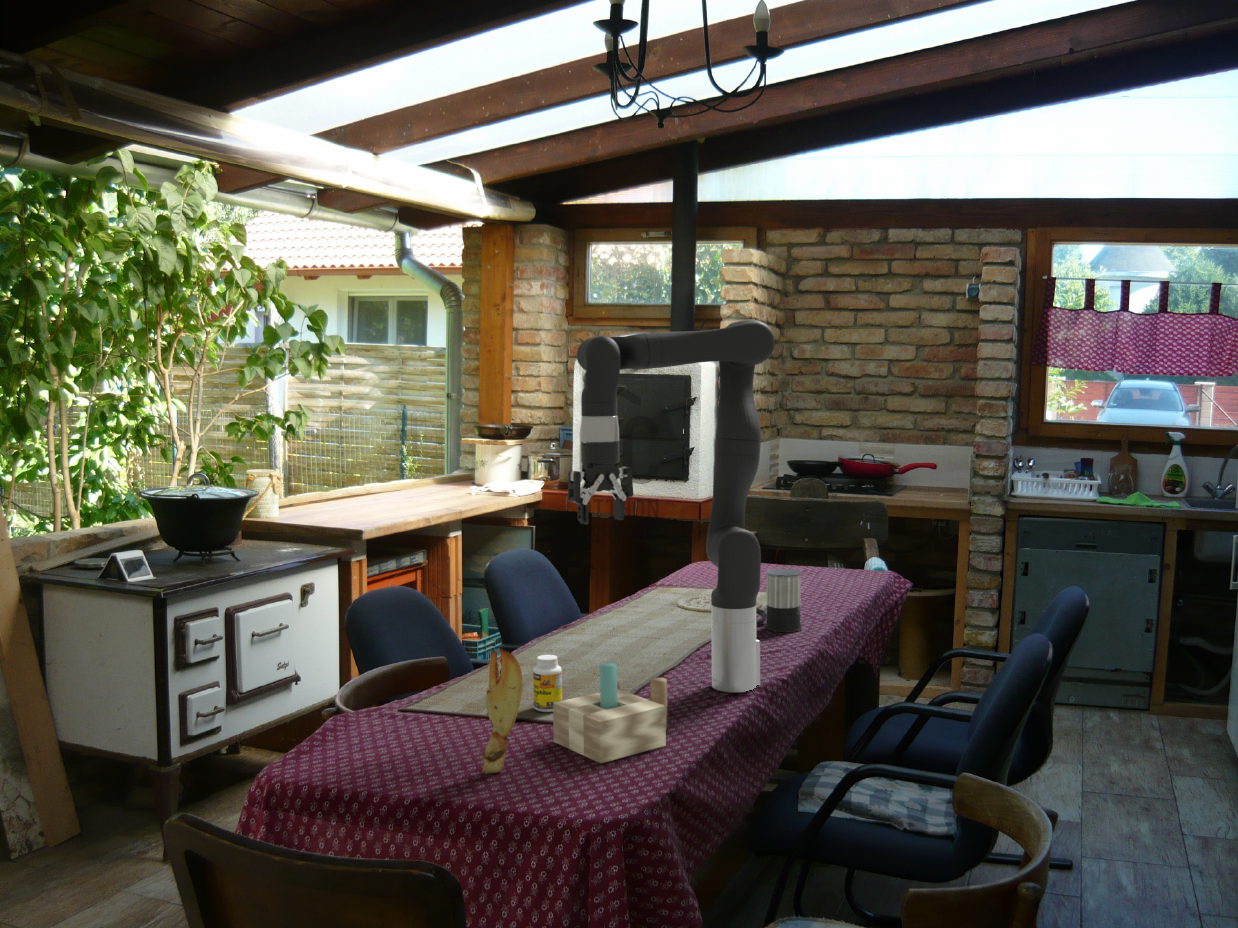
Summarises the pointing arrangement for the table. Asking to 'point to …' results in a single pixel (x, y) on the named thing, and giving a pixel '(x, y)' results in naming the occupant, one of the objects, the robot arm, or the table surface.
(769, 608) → the milk frother
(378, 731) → the table surface
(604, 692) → the long pin
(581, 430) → the robot arm
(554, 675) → the supplement bottle
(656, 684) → the medium pin
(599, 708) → the hole block
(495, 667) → the crab claw
